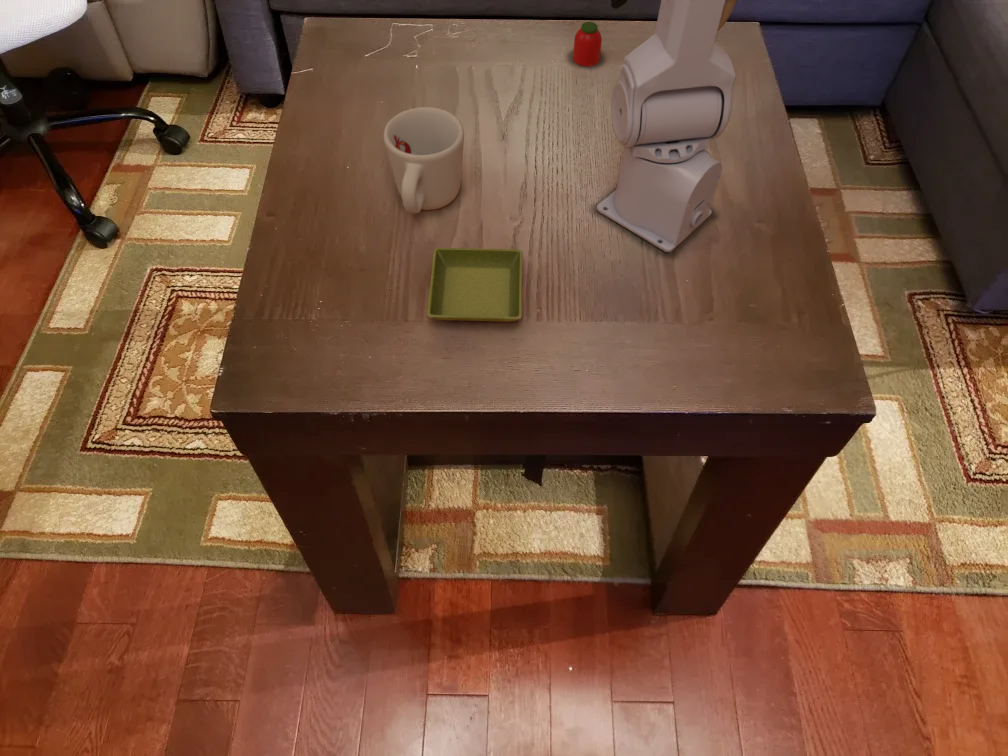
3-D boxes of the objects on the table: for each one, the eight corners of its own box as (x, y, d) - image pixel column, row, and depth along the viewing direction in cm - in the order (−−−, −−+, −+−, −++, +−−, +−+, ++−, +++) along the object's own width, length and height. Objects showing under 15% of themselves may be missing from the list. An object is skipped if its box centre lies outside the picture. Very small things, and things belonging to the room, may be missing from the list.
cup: (450, 243, 75) (446, 182, 69) (375, 232, 76) (363, 170, 69) (474, 174, 81) (472, 111, 75) (404, 164, 82) (396, 101, 75)
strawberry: (605, 58, 94) (609, 25, 90) (588, 69, 92) (591, 37, 89) (584, 47, 95) (587, 15, 91) (567, 58, 94) (570, 26, 90)
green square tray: (521, 332, 69) (521, 318, 67) (427, 330, 69) (426, 316, 67) (522, 263, 74) (522, 249, 72) (435, 261, 74) (433, 246, 72)
